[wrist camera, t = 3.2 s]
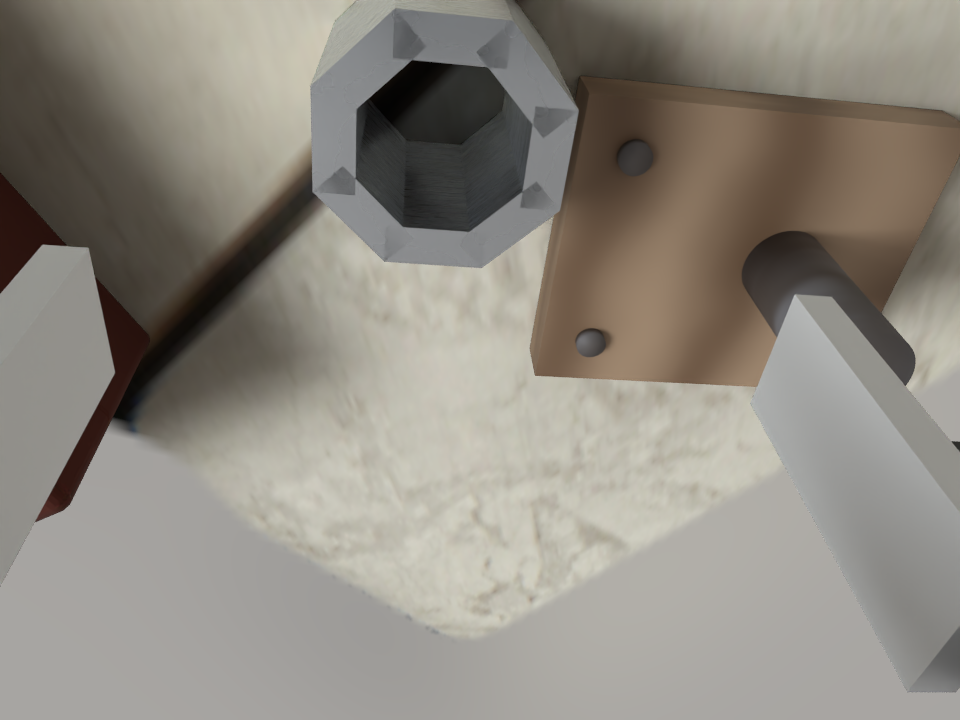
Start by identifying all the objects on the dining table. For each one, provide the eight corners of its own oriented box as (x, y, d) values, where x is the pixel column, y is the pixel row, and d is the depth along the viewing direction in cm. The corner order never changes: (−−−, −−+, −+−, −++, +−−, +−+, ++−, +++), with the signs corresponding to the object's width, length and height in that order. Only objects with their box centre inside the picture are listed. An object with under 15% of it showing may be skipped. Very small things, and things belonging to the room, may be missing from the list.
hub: (334, 165, 29) (313, 256, 23) (334, -49, 24) (308, -1, 19) (524, 180, 29) (548, 272, 24) (556, -25, 25) (594, 28, 20)
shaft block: (529, 348, 34) (558, 496, 27) (579, 75, 27) (636, 178, 20) (823, 364, 36) (923, 508, 29) (942, 110, 29) (1115, 217, 22)
